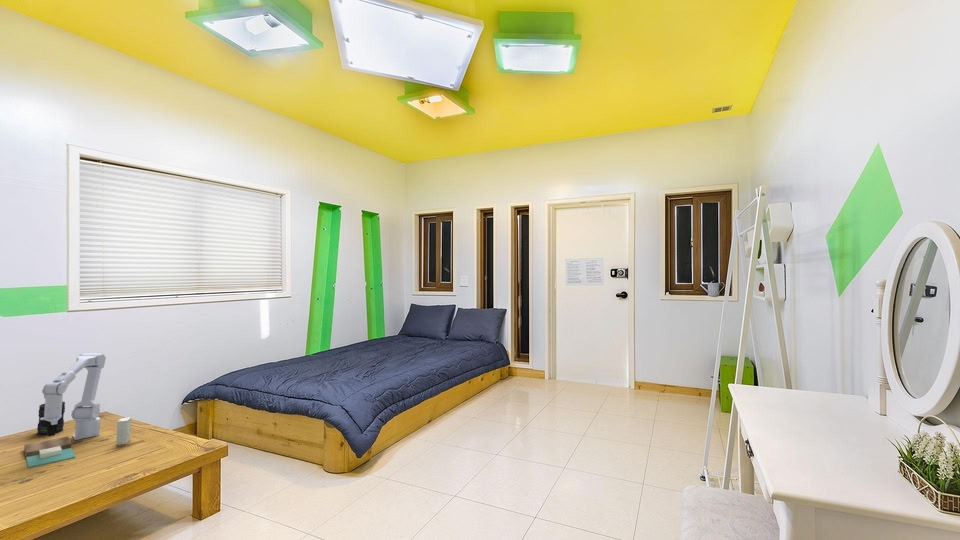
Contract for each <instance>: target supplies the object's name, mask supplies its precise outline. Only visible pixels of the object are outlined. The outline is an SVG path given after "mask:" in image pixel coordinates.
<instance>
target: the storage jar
mask: <svg viewBox="0 0 960 540" xmlns="http://www.w3.org/2000/svg"><path fill="white" fill-rule="evenodd" d="M65 409H66V402H65V401H62V412H61V415H62V417H61V418H60V419H61V423H60V424H59V425H58V427H57V430H56V433H55V435H56V434H60V433H61V432H63V431H64V425H65V422H64V421H65V419H64V415H65V412H66V411H65ZM44 412H45V403H42V404H40V405H39V407H38V422H37V428H36V430H37V431H36V432H37V433H36V434H37V436H42V437H43V436H48V434H47V428H46V426H45V424H44V421H46V420H40V418H43V417H44Z"/></svg>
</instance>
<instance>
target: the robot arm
mask: <svg viewBox="0 0 960 540" xmlns="http://www.w3.org/2000/svg"><path fill="white" fill-rule="evenodd" d="M106 358H107V357H106V356H105V354H104V353H101V352H99V353H94V352H93V353H92V352H91V353H90V352H87V353H86V352H81V353H80V354H79V355H77V357H76V360H75V363H74V364H73V365H72V366H71V367H70V368H69V370H66V371H63V372H61V373H60V374H59V375H58V376H57V377H56V378H55V379H53V381H50V382H48V383H46V384H45V385H44V386H43V388H42V390H41V391H42V394H43V398H44V399H45V400H44V404H45V412H44V417H43V418H40V420H46V421H44V424H45V426H46V428H47V434H48V435H47V437H54V436H55V435H56V434H57V433H56V430H57V427H58V425H59V424H60V423H61V419H60V418H61V417H62V415H61V412H62V402H63V399H64V398H63V397H64V396H63V394H64V393H66V391H67V389H68V386H69V385H70V383H72V381H74V380H75V379H76V377H77V374H78V373H79V372H81V371H82V370H83V369H86V370H87V375H86V379H85V384H84V389H83V392H82V397H81V400H80V401H79V402H78V403H76V404H75V405H74V407H73V410H72V411H71V418H72V419H73V421H74V422H75V425H74V426H75V428H74V434H72V437H73V439H74V440H75V441H77V440H82V439H86V438H92V437H97V436H100V428H101V418H100V416H99V415H100V413H101V409H100V408H101V404H100V403H99V402H98V401H96V400H95V399H96V396H97V391H98V386H99V381H100V376H101V372H102V369H103V368H104V367H105V364H106V363H105V362H106ZM55 433H56V434H55Z"/></svg>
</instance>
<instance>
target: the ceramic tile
mask: <svg viewBox="0 0 960 540" xmlns="http://www.w3.org/2000/svg"><path fill="white" fill-rule="evenodd" d="M59 454H62V449H61V447H60V446H58V447H53V448H48V449H43V450H39V457H40V458H45V457H50V456H55V455H59Z"/></svg>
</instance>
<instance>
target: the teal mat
mask: <svg viewBox="0 0 960 540" xmlns="http://www.w3.org/2000/svg"><path fill="white" fill-rule="evenodd" d="M71 459H76V455H75V452H74V451H73V448H72V447H71V448H67V449H62V454H59V455H55V456H50V457H45V458H40V457H39V454H38V455H33V456H29V457H26V456H25V460H26V463H27V467H28V469H31V468H36V467H40V466H44V465H45V466H46V465H48V464H54V463H58V462H62V461H68V460H71Z"/></svg>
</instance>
